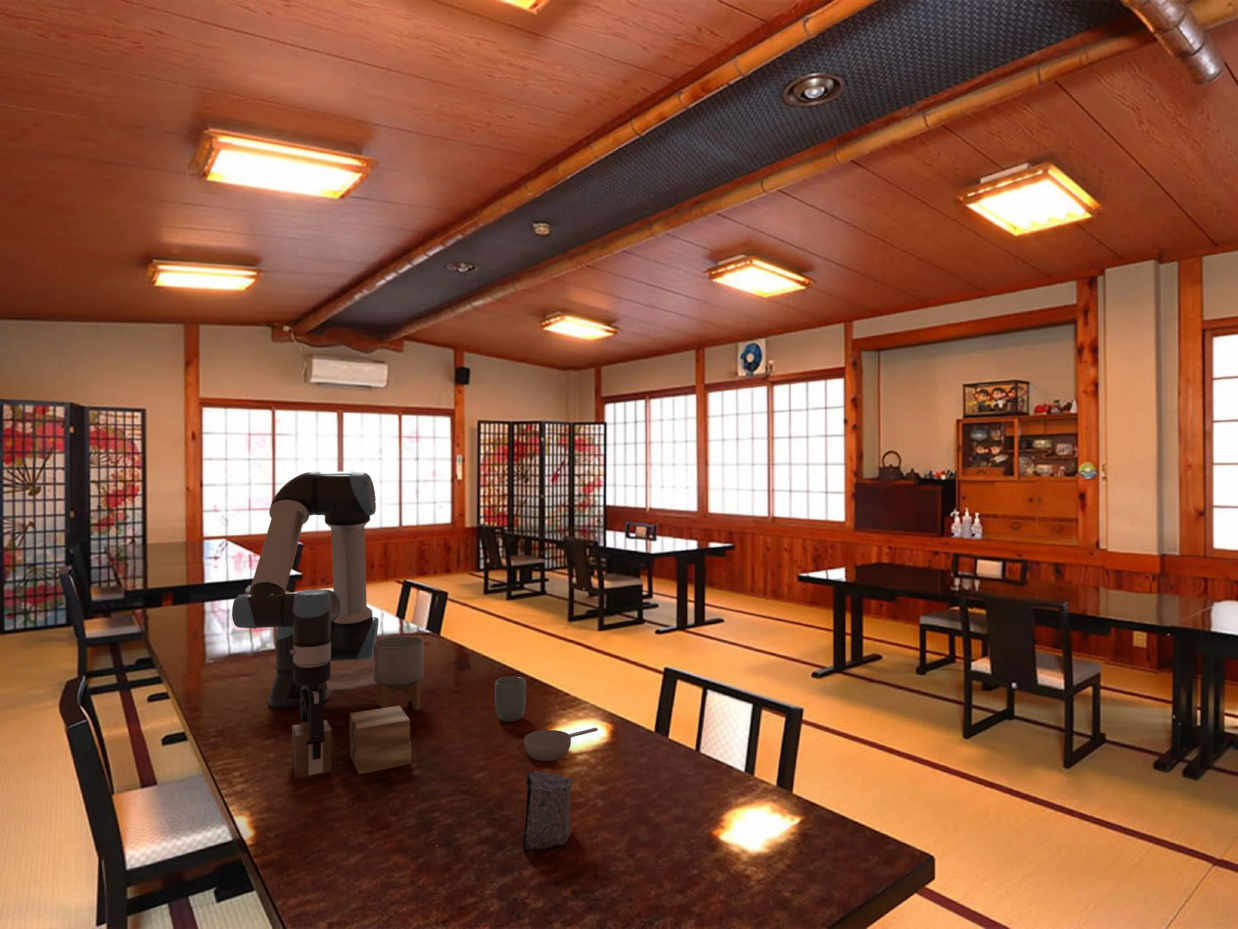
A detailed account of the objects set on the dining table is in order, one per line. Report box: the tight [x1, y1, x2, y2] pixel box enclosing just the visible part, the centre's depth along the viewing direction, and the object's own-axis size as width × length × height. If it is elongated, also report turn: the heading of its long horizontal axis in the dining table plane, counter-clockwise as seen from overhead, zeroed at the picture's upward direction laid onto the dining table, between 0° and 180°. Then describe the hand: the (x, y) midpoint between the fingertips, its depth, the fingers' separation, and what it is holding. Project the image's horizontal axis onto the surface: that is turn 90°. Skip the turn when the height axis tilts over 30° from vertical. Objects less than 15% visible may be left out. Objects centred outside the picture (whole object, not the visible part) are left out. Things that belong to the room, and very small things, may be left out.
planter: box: [373, 635, 424, 711], centre depth 197 cm, size 13×13×18 cm
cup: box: [494, 676, 527, 723], centre depth 188 cm, size 8×8×10 cm
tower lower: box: [349, 736, 412, 775], centre depth 162 cm, size 11×11×5 cm
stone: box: [522, 771, 573, 851], centre depth 128 cm, size 12×10×10 cm
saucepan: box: [523, 727, 599, 762], centre depth 168 cm, size 11×18×4 cm, turn 117°
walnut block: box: [291, 719, 333, 779], centre depth 157 cm, size 7×7×9 cm
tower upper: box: [349, 705, 411, 752], centre depth 162 cm, size 11×11×5 cm
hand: (311, 762), depth 157 cm, fingers open, 12 cm apart
